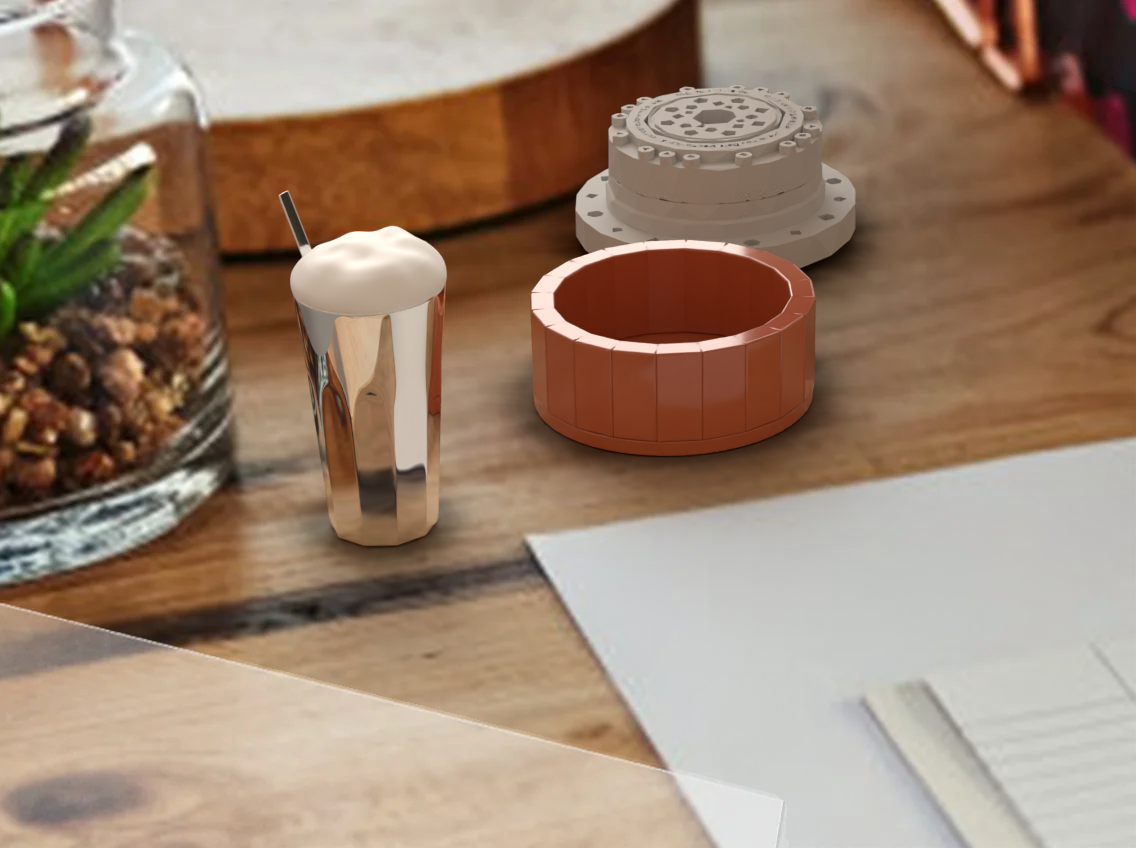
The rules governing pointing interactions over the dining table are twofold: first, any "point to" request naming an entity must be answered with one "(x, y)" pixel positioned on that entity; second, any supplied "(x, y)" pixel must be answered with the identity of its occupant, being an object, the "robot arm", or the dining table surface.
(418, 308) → the milkshake
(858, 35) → the dining table surface
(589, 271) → the round open container
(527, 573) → the dining table surface
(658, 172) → the mechanical component
